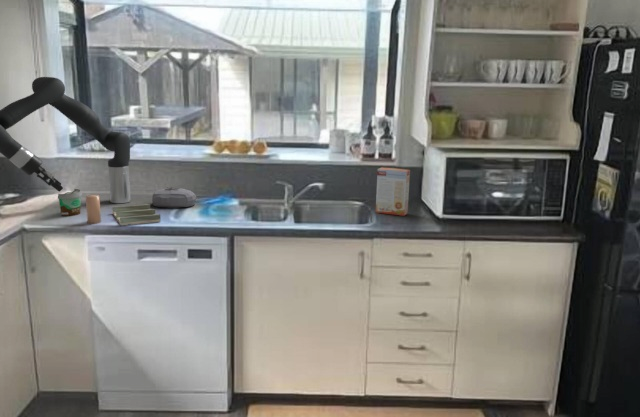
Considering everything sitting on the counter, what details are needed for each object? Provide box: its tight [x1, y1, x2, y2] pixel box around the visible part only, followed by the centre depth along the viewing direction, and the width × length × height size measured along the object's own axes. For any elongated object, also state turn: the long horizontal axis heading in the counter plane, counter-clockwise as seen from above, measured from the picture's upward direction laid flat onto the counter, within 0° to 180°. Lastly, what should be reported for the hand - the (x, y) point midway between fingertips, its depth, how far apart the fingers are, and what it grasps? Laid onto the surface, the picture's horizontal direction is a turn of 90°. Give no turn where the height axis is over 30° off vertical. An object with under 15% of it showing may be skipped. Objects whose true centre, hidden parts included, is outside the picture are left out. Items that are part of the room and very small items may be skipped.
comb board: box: [111, 203, 161, 226], centre depth 244 cm, size 21×16×3 cm
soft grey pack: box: [151, 187, 197, 209], centre depth 269 cm, size 15×8×20 cm
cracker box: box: [375, 167, 411, 217], centre depth 262 cm, size 14×6×21 cm, turn 65°
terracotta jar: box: [85, 194, 102, 225], centre depth 234 cm, size 5×5×11 cm
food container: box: [57, 188, 83, 217], centre depth 246 cm, size 12×6×10 cm, turn 168°
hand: (60, 187), depth 227 cm, fingers open, 8 cm apart
